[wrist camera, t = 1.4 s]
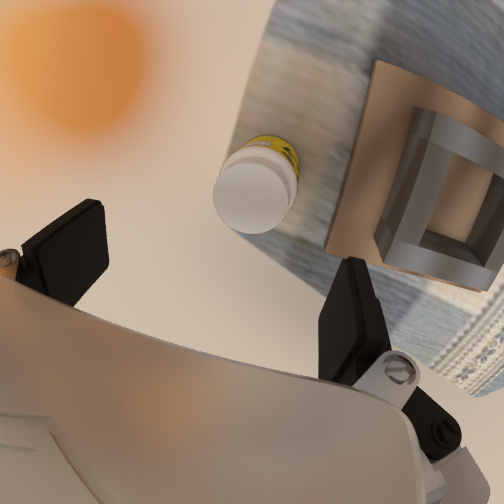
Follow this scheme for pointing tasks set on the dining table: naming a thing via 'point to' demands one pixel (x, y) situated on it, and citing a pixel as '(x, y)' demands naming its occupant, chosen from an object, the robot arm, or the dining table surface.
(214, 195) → the supplement bottle
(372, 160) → the pocket board
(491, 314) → the dining table surface
